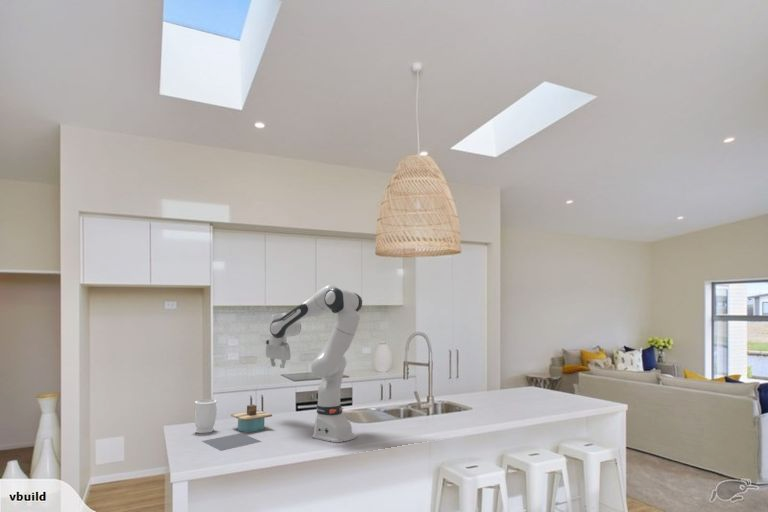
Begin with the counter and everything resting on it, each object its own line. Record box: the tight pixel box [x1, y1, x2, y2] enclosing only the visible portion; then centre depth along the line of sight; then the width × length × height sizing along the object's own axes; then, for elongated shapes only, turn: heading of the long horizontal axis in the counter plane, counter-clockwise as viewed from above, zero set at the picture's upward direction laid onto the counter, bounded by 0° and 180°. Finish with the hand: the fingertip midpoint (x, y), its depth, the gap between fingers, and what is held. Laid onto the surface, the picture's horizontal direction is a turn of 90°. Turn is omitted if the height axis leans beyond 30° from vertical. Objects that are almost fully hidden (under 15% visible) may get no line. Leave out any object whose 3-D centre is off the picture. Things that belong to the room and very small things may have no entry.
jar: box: [194, 398, 218, 434], centre depth 243 cm, size 11×10×15 cm
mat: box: [201, 432, 263, 452], centre depth 224 cm, size 20×20×1 cm
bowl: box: [237, 418, 265, 433], centre depth 247 cm, size 13×13×6 cm
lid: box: [230, 404, 273, 421], centre depth 248 cm, size 15×15×5 cm
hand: (277, 367), depth 265 cm, fingers open, 8 cm apart
